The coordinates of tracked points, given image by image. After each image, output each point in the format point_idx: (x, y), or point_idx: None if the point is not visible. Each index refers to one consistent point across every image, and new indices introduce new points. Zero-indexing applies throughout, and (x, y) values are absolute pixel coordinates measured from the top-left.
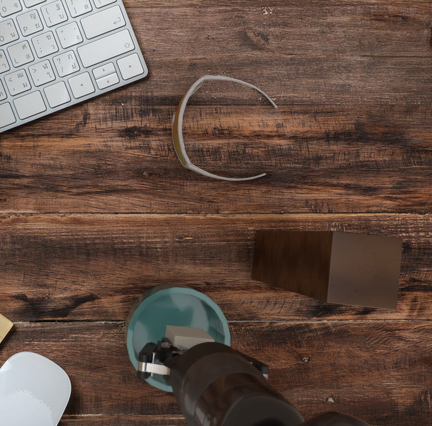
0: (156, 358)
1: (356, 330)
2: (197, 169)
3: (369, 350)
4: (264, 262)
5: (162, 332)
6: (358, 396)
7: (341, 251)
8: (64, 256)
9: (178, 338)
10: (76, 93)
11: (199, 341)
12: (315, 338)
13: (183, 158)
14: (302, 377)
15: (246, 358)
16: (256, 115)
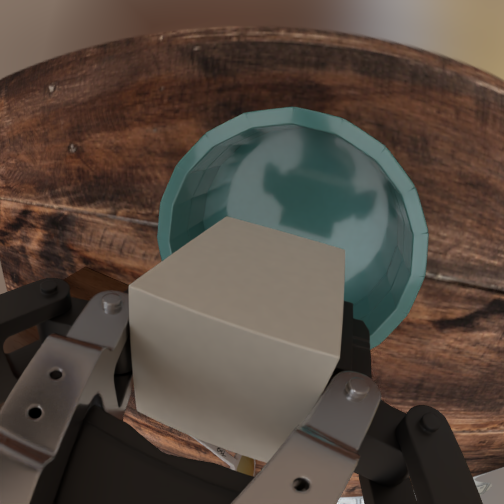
0: (384, 461)
1: (29, 189)
2: (222, 459)
3: (19, 161)
4: None
5: (322, 235)
6: (28, 98)
7: None
8: (453, 387)
9: (267, 460)
10: (352, 500)
11: (186, 429)
12: (62, 181)
13: (240, 471)
14: (76, 118)
15: (3, 397)
16: (162, 443)
